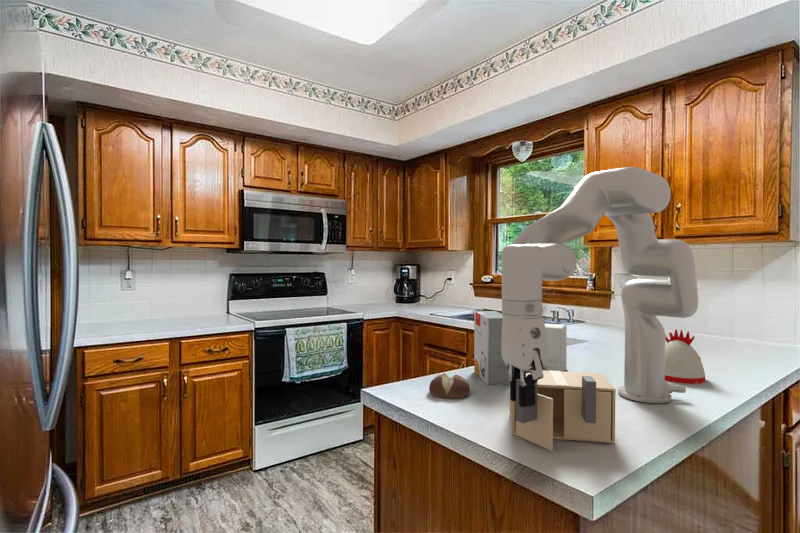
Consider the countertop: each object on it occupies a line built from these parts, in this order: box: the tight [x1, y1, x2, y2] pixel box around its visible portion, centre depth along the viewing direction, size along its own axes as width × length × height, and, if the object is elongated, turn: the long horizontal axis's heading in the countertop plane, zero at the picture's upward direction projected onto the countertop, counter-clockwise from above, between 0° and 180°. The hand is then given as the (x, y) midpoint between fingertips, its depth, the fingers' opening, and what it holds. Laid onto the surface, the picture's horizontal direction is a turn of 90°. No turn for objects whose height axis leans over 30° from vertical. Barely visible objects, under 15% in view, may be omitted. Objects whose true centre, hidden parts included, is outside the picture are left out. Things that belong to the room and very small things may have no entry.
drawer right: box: [564, 376, 611, 442], centre depth 86 cm, size 9×4×13 cm, turn 78°
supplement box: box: [543, 322, 568, 372], centre depth 145 cm, size 9×9×15 cm
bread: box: [428, 372, 471, 400], centre depth 120 cm, size 11×11×5 cm
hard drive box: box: [473, 310, 510, 386], centre depth 135 cm, size 16×8×20 cm, turn 5°
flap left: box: [515, 379, 554, 451], centre depth 86 cm, size 9×4×13 cm, turn 32°
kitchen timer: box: [665, 329, 706, 385], centre depth 137 cm, size 14×14×15 cm
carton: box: [509, 370, 617, 444], centre depth 95 cm, size 20×12×11 cm, turn 78°
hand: (522, 402), depth 85 cm, fingers closed on flap left, 2 cm apart
